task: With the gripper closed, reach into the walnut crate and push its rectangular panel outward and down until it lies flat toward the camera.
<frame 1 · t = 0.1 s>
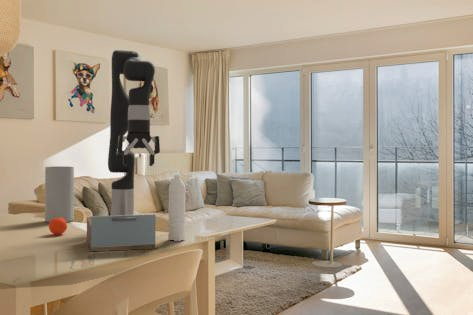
hand: (138, 166, 192), 29 cm above the table, fingers open, 8 cm apart
rectangular panel: (123, 230, 190), point 7 cm above the table, hinge at 0.0°
water bottle: (179, 240, 213), on the table
cylinder vase: (59, 221, 257), on the table
crate: (119, 245, 201), on the table
clementine: (57, 235, 222), on the table
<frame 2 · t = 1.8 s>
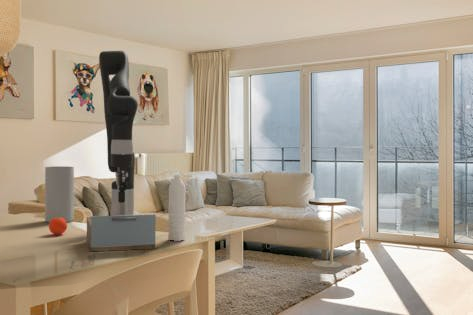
hand: (121, 202, 195), 16 cm above the table, fingers closed
nothing on the table moved.
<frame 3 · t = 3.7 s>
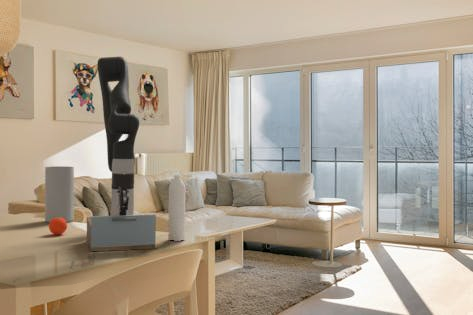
hand: (122, 222, 192), 10 cm above the table, fingers closed
rectangular panel: (123, 230, 190), point 7 cm above the table, hinge at 2.3°, touching gripper
everything else where it was.
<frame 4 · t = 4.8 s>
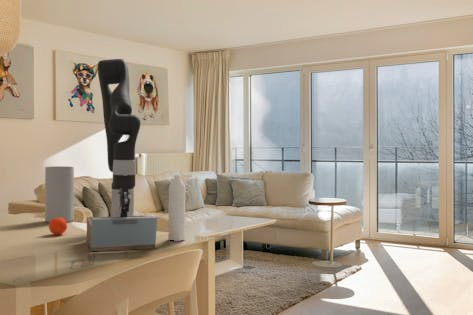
hand: (123, 224, 189), 9 cm above the table, fingers closed
rectangular panel: (124, 232, 188), point 7 cm above the table, hinge at 18.2°, touching gripper
everything else where it was.
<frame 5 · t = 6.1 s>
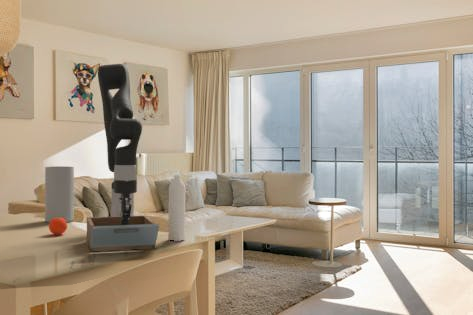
hand: (124, 230, 186), 8 cm above the table, fingers closed
rectangular panel: (125, 237, 186), point 5 cm above the table, hinge at 43.7°, touching gripper
everything else where it was.
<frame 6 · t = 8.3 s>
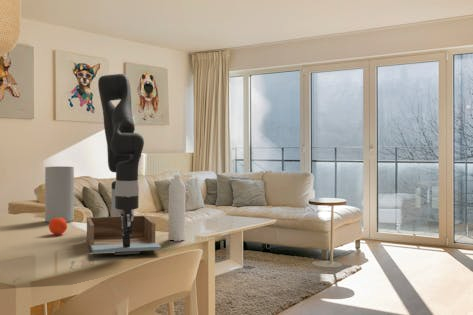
hand: (126, 246, 183), 3 cm above the table, fingers closed
rectangular panel: (125, 249, 185), point 2 cm above the table, hinge at 87.5°, touching gripper
everything else where it was.
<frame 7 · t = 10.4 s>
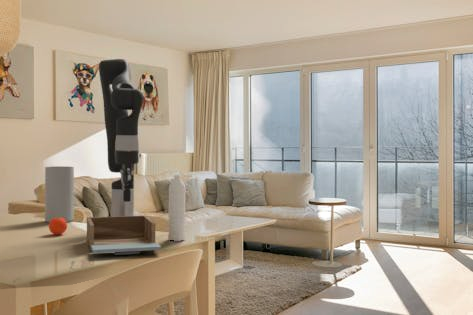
hand: (126, 201, 185), 18 cm above the table, fingers closed
rectangular panel: (125, 249, 185), point 2 cm above the table, hinge at 87.7°
everything else where it was.
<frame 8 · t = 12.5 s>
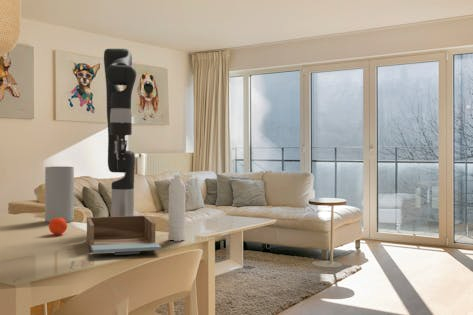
hand: (120, 170, 199), 27 cm above the table, fingers closed
nothing on the table moved.
at the end: rectangular panel at +88° (first picture: +0°); water bottle moved 0.2 cm from its start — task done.
